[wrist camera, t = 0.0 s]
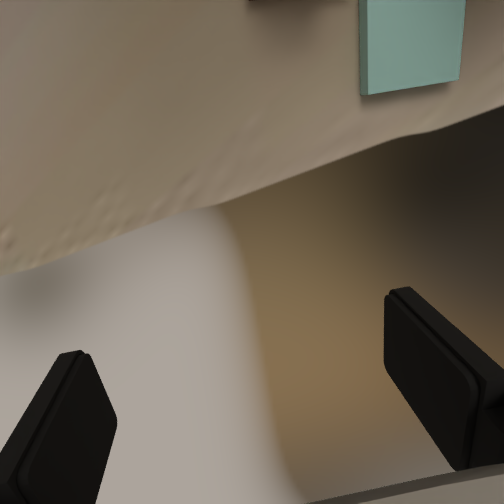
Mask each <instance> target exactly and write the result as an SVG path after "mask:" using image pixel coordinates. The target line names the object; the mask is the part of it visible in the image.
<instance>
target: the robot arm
mask: <svg viewBox="0 0 504 504" xmlns="http://www.w3.org/2000/svg"><path fill="white" fill-rule="evenodd" d="M384 365H385V368H386V371H387V373H388V374H389V376H390V377H391V379H392V380H393V382H394V383H395V384H396V386H397V387H398V389H399V390H400V391H401V393H402V395H403V396H404V398H405V399H406V401H407V402H408V404H409V405H410V407H411V408H412V410H413V411H414V413H415V414H416V416H417V417H418V418H419V420H420V421H421V423H422V424H423V426H424V427H425V429H426V430H427V432H428V433H429V435H430V436H431V438H432V439H433V441H434V442H435V444H436V445H437V446H438V448H439V449H440V451H441V453H442V454H443V455H444V457H445V458H446V460H447V461H448V463H449V464H450V466H451V467H452V468H453V469H454V470H455V471H457V472H452V473H447V474H441V475H436V476H432V477H427V478H421V479H416V480H412V481H407V482H403V483H398V484H394V485H389V486H384V487H380V488H376V489H370V490H366V491H361V492H357V493H353V494H347V495H343V496H338V497H334V498H329V499H325V500H320V501H315V502H311V503H307V504H504V369H503V368H501V367H500V366H499V365H498V364H497V363H496V362H495V361H493V360H492V359H491V358H490V357H489V356H488V355H487V354H486V353H485V352H483V351H482V350H481V349H480V348H479V347H478V346H477V345H476V344H474V343H473V342H472V341H471V340H470V339H469V338H468V337H466V336H465V335H464V334H463V333H462V332H461V331H460V330H459V329H457V328H456V327H455V326H454V325H453V324H451V323H450V322H449V321H448V320H447V319H446V318H445V317H444V316H443V315H441V314H440V313H439V312H438V311H437V310H436V309H435V308H434V307H432V306H431V305H430V304H429V303H428V302H427V301H426V300H425V299H423V298H422V297H421V296H420V295H419V294H418V293H417V292H416V291H414V290H413V289H412V288H411V287H403V288H397V289H392V290H390V292H389V295H386V296H385V299H384ZM116 429H117V417H116V414H115V411H114V409H113V407H112V405H111V402H110V400H109V397H108V395H107V393H106V391H105V388H104V386H103V383H102V381H101V379H100V376H99V374H98V372H97V369H96V367H95V365H94V363H93V360H92V358H91V356H90V355H89V354H85V353H84V352H83V351H82V350H77V351H73V352H67V353H62V354H60V355H59V356H58V358H57V360H56V361H55V362H54V364H53V366H52V367H51V369H50V371H49V372H48V374H47V376H46V377H45V379H44V381H43V382H42V384H41V386H40V387H39V389H38V391H37V392H36V394H35V396H34V398H33V399H32V401H31V403H30V404H29V406H28V407H27V409H26V411H25V412H24V414H23V416H22V417H21V419H20V421H19V422H18V424H17V426H16V428H15V429H14V431H13V433H12V434H11V436H10V437H9V439H8V441H7V442H6V444H5V446H4V447H3V449H2V451H1V452H0V504H95V503H96V499H97V496H98V492H99V489H100V485H101V482H102V478H103V475H104V471H105V468H106V464H107V460H108V457H109V454H110V450H111V446H112V443H113V439H114V436H115V432H116Z"/></svg>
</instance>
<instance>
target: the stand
mask: <svg viewBox="0 0 504 504" xmlns="http://www.w3.org/2000/svg"><path fill="white" fill-rule="evenodd" d="M465 5H466V0H359V39H360V95H370V94H376V93H382V92H388V91H394V90H400V89H406V88H412V87H419V86H425V85H431V84H437V83H443V82H449V81H455V80H459V73H460V61H461V50H462V39H463V27H464V16H465Z"/></svg>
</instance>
